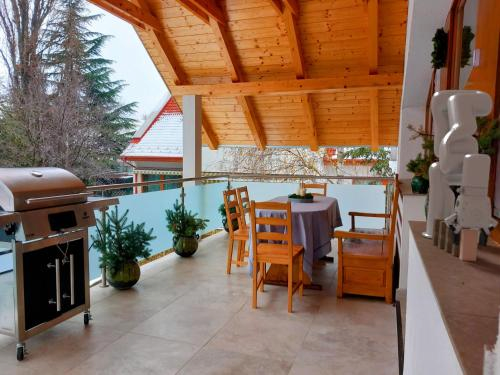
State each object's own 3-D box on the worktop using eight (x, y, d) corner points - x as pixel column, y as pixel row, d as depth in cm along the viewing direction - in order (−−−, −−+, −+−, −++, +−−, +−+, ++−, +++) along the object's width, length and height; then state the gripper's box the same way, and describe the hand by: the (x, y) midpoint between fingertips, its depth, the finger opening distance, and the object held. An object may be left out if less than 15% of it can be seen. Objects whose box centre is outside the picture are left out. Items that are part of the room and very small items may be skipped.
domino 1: (431, 244, 145) (433, 218, 144) (443, 244, 145) (445, 219, 144) (433, 245, 144) (435, 219, 143) (445, 245, 144) (448, 219, 143)
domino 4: (451, 254, 131) (453, 226, 130) (464, 255, 130) (467, 226, 129) (453, 256, 129) (456, 227, 128) (467, 256, 129) (470, 227, 128)
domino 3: (444, 251, 135) (446, 223, 135) (457, 251, 135) (459, 224, 134) (446, 252, 134) (449, 224, 133) (459, 252, 134) (462, 224, 133)
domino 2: (437, 247, 140) (440, 220, 139) (450, 247, 140) (452, 221, 139) (439, 248, 139) (442, 221, 138) (452, 249, 139) (454, 222, 138)
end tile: (476, 260, 124) (478, 230, 123) (461, 260, 124) (464, 230, 123) (473, 259, 126) (475, 229, 125) (459, 258, 126) (461, 229, 125)
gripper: (452, 192, 119) (447, 247, 121) (508, 194, 119) (503, 249, 120) (441, 190, 126) (436, 241, 128) (493, 192, 126) (488, 243, 128)
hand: (468, 244), depth 124 cm, fingers open, 8 cm apart
